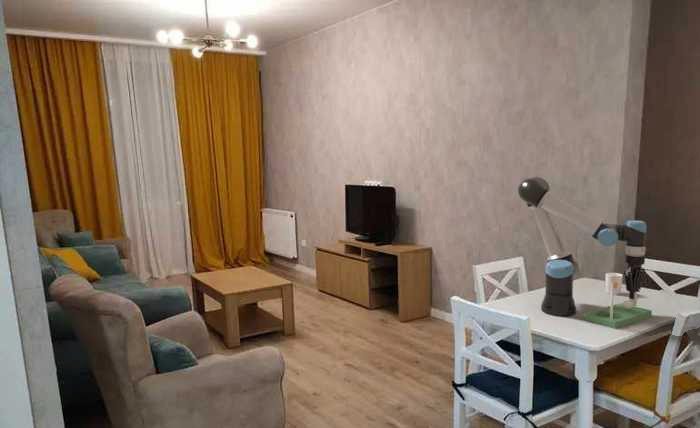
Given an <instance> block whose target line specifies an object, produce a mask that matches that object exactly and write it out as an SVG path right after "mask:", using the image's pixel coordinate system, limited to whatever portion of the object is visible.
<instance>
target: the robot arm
mask: <svg viewBox="0 0 700 428" xmlns="http://www.w3.org/2000/svg"><path fill="white" fill-rule="evenodd" d="M517 192H518V193H517V194H518V195H519V198H520V199H521V200H522V201H523V202H526V206H527V207H528V209H530V210H532V213H533V215H534V218H535V220H536V223H537V227H538V228H539V232H540V235H541V237H542V240H543V243H544V246H545V248H546V251H547V255H548V257H547V258H546V259H547V260H546V261H547V263H546V264H545V294H544V296H543V299H542V303H541V305H540V306H541V308H540V309H541V310H540V311H542V312H543V313H545V314H548V315H552V316H558V317H570V316H574V315H576V314H577V306H576V303H575V300H574V297H573V292H574V281H575V279H576V278H577V277H578V275H579V272H580V271H579V270H580V269H579V264H578V263H577V261H576V260H575V258H574V257H573V253H572V252H570V251H569V250H567V247H566V244H565V242H564V239H563V236H562V234H561V231H560V227H559V225H558V221H557V219H556V217H557V218H559V219H560V220H563V221H564V222H565V223H567V224H569V225H571V226H573V227H575V228H576V229H578V230H579V231H581V232H582V233H583V232H584V233H585V234H587V235H588V236H590V237H592V238H594V239H595V240H597V241H598V242H599V244H601V245H602V246H606V247H610V246H611V247H612V246H613V245H615V244H616V243H617V242H625V243H626V245H625V257H624V258H625V260H624V261H625V263H626V264H627V268H626V269H627V270H623V274H624V278H625V279H624V280H625V288H626V291H627V292H628V293H629V296H628V301H630V302H631V303H632V306H635V307H638V293H639V292H641V289H642V282H643V277H644V273H645V271H646V269H645V268H644V267H643V266H642V265H644V264H645V259H646V256H645V255H646V251H647V248H646V240H647V223H646V222H645V221H643V220H628V221H627V222H626V224H616V223H615V224H613V223H604V222H602V221H600V220H598V219H596V218H595V217H592V216H591V215H589V214H587V213H586V212H584V211H582V210H580V209H579V208H577V207H575V206H573V205H572V204H570V203H568V202H565V201H564V200H562V199H560V198H559V197H557V196H555V195H553V194H552V193H551V191H550V185H549V183H548V182H547V180H545V179H544V178H541V177H540V176H534V177H531V178H526V179H524V180H523V181H521V182H520V184H519V185H518V188H517Z"/></svg>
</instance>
